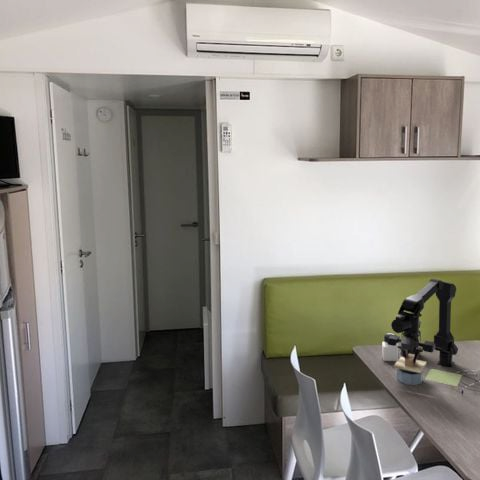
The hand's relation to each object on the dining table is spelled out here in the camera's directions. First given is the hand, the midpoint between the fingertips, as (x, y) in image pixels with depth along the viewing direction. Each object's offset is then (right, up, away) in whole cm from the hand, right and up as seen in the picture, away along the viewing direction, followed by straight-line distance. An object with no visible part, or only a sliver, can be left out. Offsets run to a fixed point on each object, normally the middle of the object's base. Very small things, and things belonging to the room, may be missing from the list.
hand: (410, 362), depth 205 cm
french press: (+11, -4, +30) cm, 32 cm away
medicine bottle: (-1, -5, +25) cm, 26 cm away
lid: (0, -1, 0) cm, 2 cm away
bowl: (0, -8, +1) cm, 8 cm away
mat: (+16, -8, +3) cm, 18 cm away
